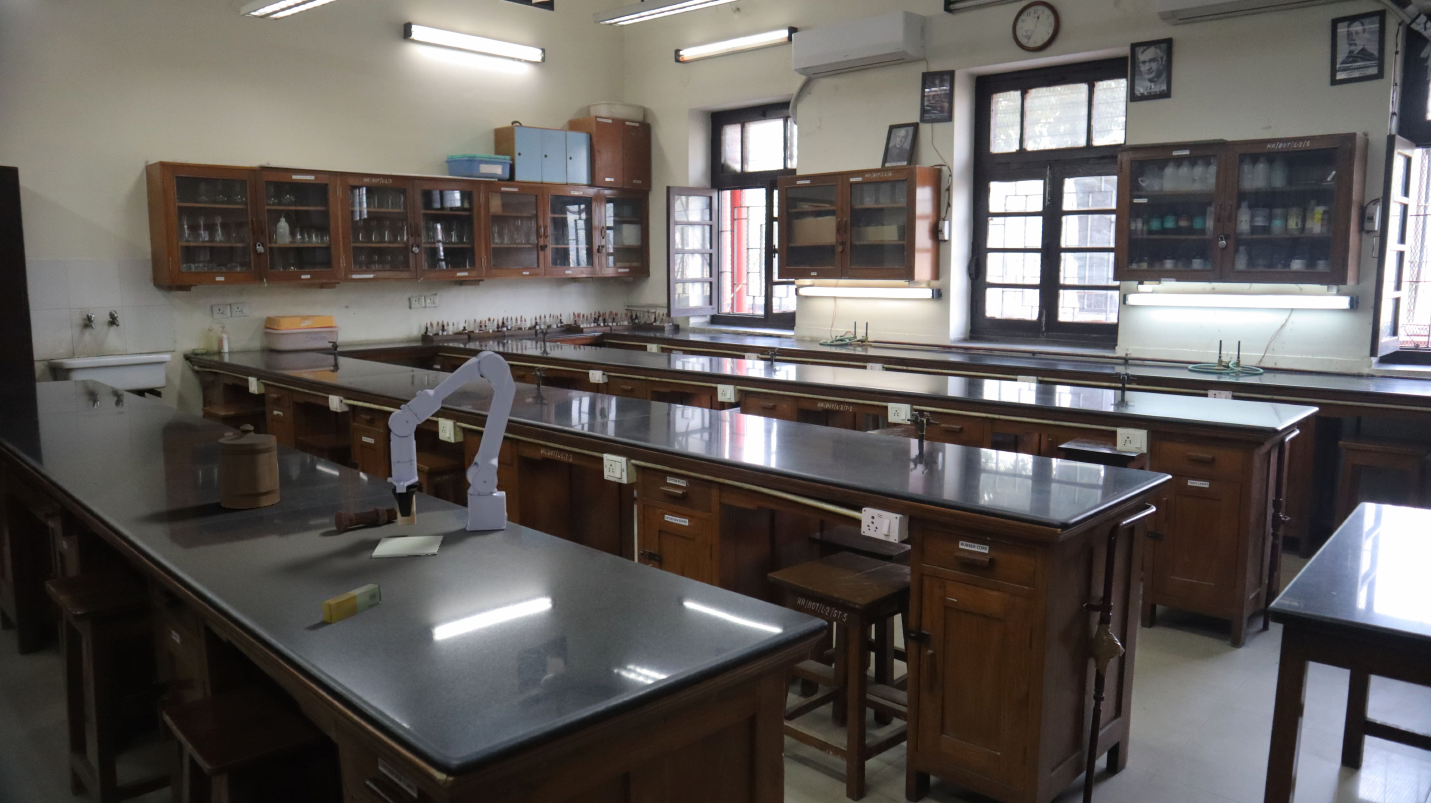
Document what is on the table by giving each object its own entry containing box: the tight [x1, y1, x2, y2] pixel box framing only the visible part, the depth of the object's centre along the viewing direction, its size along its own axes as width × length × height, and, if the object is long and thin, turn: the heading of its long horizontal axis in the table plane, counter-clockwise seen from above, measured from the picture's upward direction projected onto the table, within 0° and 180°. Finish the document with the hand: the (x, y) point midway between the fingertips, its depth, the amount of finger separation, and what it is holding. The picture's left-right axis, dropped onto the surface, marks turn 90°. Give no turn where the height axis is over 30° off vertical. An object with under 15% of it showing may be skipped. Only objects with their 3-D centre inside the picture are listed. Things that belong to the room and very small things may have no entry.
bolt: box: [334, 506, 398, 533], centre depth 244 cm, size 6×5×15 cm
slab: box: [396, 494, 417, 527], centre depth 236 cm, size 4×2×7 cm, turn 100°
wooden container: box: [217, 423, 281, 510], centre depth 266 cm, size 15×15×22 cm
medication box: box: [322, 582, 382, 624], centre depth 183 cm, size 12×3×4 cm, turn 153°
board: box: [371, 535, 444, 559], centre depth 225 cm, size 14×14×1 cm
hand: (406, 514), depth 236 cm, fingers closed on slab, 2 cm apart
